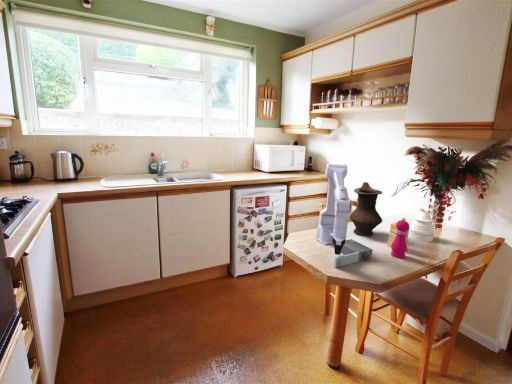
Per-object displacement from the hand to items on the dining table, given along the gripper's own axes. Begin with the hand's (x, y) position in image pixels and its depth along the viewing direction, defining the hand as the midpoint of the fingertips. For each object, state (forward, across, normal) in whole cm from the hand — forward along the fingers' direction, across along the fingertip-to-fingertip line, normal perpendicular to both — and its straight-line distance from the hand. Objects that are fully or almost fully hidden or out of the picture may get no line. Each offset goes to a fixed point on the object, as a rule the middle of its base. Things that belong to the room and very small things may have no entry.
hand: (337, 254), depth 131 cm
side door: (+5, -1, +5) cm, 7 cm away
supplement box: (+5, -33, +29) cm, 44 cm away
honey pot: (+5, -58, +46) cm, 74 cm away
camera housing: (+5, -15, +7) cm, 18 cm away
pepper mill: (+5, -22, +29) cm, 37 cm away
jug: (+5, -50, +13) cm, 52 cm away
